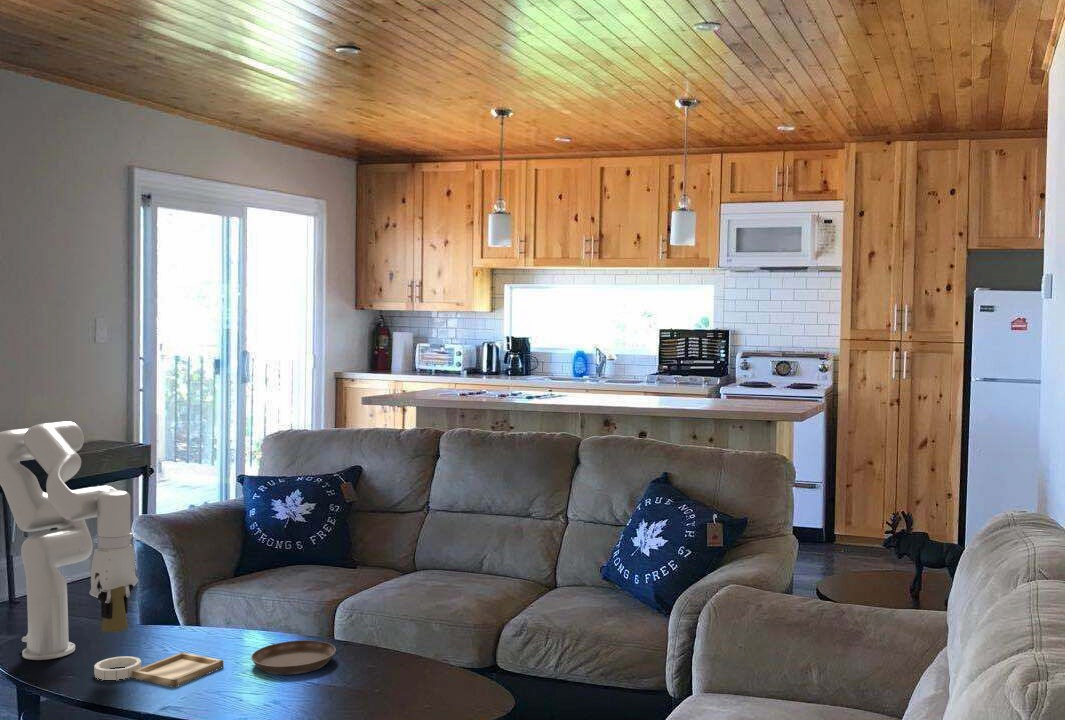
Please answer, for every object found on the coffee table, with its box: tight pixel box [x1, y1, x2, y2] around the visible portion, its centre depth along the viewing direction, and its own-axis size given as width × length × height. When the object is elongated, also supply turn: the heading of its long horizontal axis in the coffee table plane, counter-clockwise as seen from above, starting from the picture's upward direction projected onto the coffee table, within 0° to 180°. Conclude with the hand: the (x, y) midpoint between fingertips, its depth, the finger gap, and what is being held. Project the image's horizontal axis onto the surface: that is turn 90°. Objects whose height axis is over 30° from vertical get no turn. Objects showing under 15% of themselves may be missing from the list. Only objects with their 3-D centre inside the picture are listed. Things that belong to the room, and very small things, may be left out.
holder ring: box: [93, 655, 143, 681], centre depth 266 cm, size 10×10×2 cm
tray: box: [131, 651, 224, 688], centre depth 266 cm, size 14×16×2 cm
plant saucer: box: [251, 639, 337, 676], centre depth 272 cm, size 21×21×3 cm
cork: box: [101, 586, 129, 633], centre depth 266 cm, size 6×6×11 cm
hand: (114, 614), depth 266 cm, fingers closed on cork, 3 cm apart
